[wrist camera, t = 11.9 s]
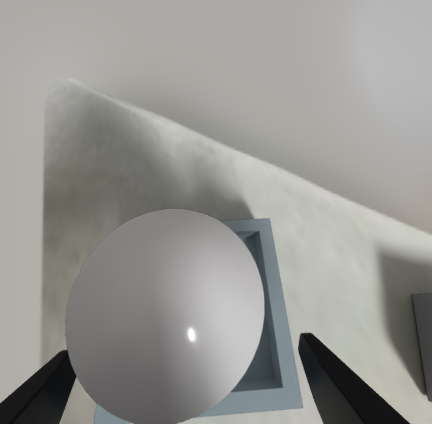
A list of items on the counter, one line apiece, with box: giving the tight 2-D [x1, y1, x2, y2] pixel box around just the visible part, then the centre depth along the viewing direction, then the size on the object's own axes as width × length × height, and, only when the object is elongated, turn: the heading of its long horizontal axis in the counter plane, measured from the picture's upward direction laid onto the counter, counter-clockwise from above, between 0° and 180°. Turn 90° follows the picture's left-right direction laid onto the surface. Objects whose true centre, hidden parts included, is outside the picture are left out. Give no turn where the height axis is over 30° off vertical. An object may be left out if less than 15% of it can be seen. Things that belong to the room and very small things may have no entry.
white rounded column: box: [66, 209, 264, 424], centre depth 10 cm, size 4×4×13 cm
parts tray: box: [94, 218, 303, 424], centre depth 16 cm, size 12×12×3 cm
